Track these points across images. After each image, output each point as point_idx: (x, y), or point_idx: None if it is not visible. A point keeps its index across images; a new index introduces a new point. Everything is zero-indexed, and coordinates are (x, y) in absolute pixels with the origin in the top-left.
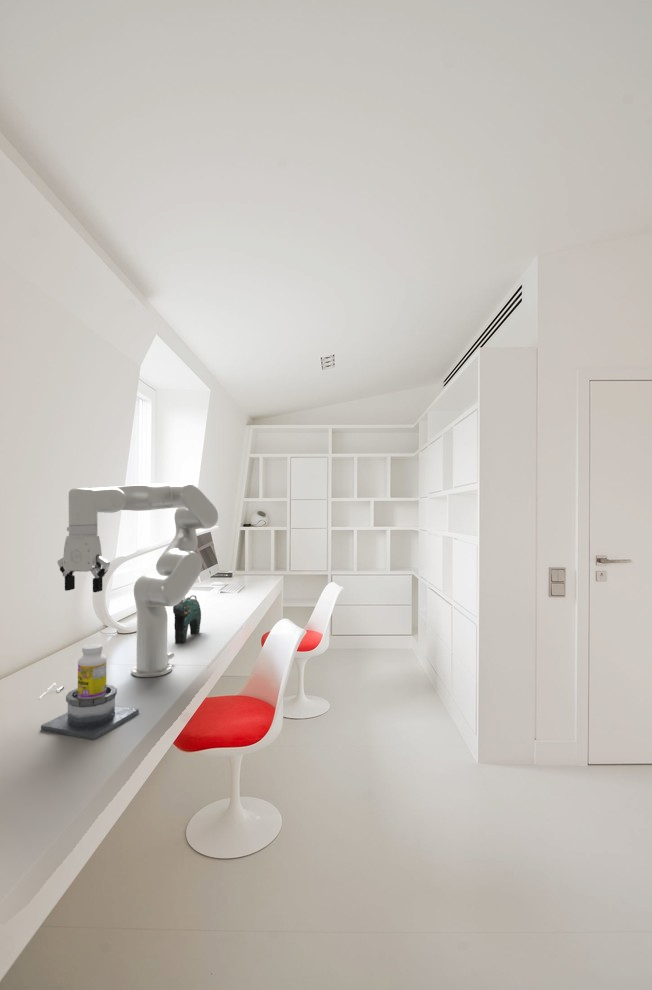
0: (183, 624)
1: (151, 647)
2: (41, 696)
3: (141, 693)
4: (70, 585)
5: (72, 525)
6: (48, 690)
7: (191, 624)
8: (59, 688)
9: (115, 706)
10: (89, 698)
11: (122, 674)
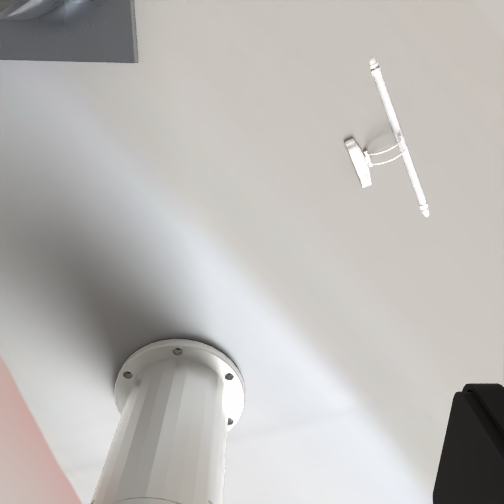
0: None
1: (129, 429)
2: (379, 84)
3: (61, 221)
4: (471, 495)
5: None
6: (399, 146)
7: None
8: (361, 162)
9: (3, 51)
10: None
11: (255, 345)
